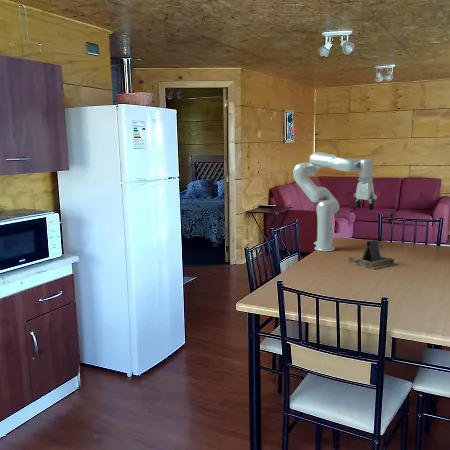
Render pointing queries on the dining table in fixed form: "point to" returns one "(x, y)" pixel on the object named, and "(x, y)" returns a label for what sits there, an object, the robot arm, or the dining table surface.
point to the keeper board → (375, 264)
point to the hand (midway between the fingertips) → (364, 209)
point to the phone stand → (372, 251)
